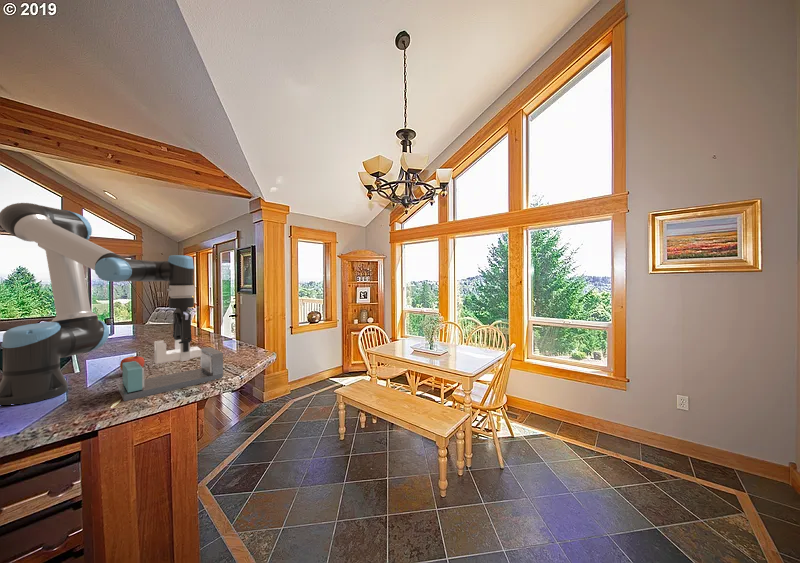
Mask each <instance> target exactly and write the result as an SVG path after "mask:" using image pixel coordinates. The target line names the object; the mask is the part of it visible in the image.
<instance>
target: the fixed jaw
mask: <svg viewBox="0 0 800 563" xmlns="http://www.w3.org/2000/svg"><path fill="white" fill-rule="evenodd" d="M200 349H201V356H200V357H199V358H200V364H199V365H200V368H202V369H203V370H205V371H207V372H208V373H210V374H211V375H213V376H214V375H218V374H223V375H224V352H222V351H219V350H218V349H215V348H214V347H210V346H209V347H202V348H200Z"/></svg>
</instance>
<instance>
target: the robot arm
mask: <svg viewBox="0 0 800 563" xmlns="http://www.w3.org/2000/svg"><path fill="white" fill-rule="evenodd" d="M0 226H1V227H0V228H2V230H4V231H6V232H7V233H9V234H10V235H11V236H14V237H16V238H18V239H19V240H22V241H24V242H25V241H26V242H34V243H36V244H37V246H38V247H39V248H41V249H43V250H44V251H45V254H46V261H47V269H48V271H49V277H50V283H51V291H52V297H53V302H54V308H55V313H56V316H55V317H54V318H53V319H52V320H51V321H48V322H47V321H45V322H37V323H30V324H23V325H18V326H15V327H12V328H10V329H7V330H6V331H5V332H4V333H2V334H3V335H2V342H1V347H2V378H1V380H0V405H11V404H20V405H23V404H22V403H26V404H32V403H36V401H37V402H41V401H45V400H48V398H49V399H51V398H55V397H58V396H60V395H63V394H65V393H67V392H68V391H69V383H68V381H67V379H66V377H65V376H64V374H63V373H62V370H61V359H64V358H68V357H72V356H76V355H81V354H86V353H89V352H92V351H95V350H98V349H100V348H101V347H102V346H104V344H106V343H107V341H108V339H109V335H110V329H109V327H108V325H107V323H105V322H104V321H103V320H99V318H98V314H96V313H94V312H93V311H92V309H91V304H90V299H89V298H90V297H89V294H88V292H89V291H88V286H87V281H86V276H85V269H84V266H85V268H86V267H87V268H88V269H90V270H93V271H94V273H95V274H96V275H97V277H98V278H99V279H100V280H102V281H104V282H113V283H121V282H143V283H144V282H147V283H150V282H168V288H166V291H167V292H168V297H170V298H168V308H169V309H175V311H173V312H172V316H173V319H172V320H173V322H172V324H173V325H172V338H173V339H174V350H175V349H180V360H179V361H180V362H185V361H186V362H187V361H190V360H191V359H190V347H191V342H192V341H193V339H192V325H191V324H192V321H191V320H192V313H190V312H189V310H188V309H190V308H194V307H195V298H194V296H195V284H194V277H195V276H194V272H195V267H194V257H192V256H191V255H184V254H183V255H182V254H179V255H178V254H177V255H176V254H174V255H173V254H171V255H169V256H168V259H167V260H145V259H144V260H143V259H132V258H126V257H124V256H122V255H119V254H117V253H115V252H114V251H111V250H109V249H107V248H105V247H103V246H102V245H101V246H100V245H98V244H97V243H95V242H93V241H90V240H89V239H91V238H90V236H91V235H92V234H93V230H92V225H91V223H90V222H89V220H88V219H87V218H86V217H85V216H83V215H82V214H79V213H77V212H74V211H71V210H67V209H61V208H60V209H59V208H55V207H50V206H46V205H40V204H36V203H29V202H17V203H12V204H9V205H7V206H6V207H4V208H3V209H1V211H0ZM44 399H45V400H44ZM31 402H32V403H31Z"/></svg>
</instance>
